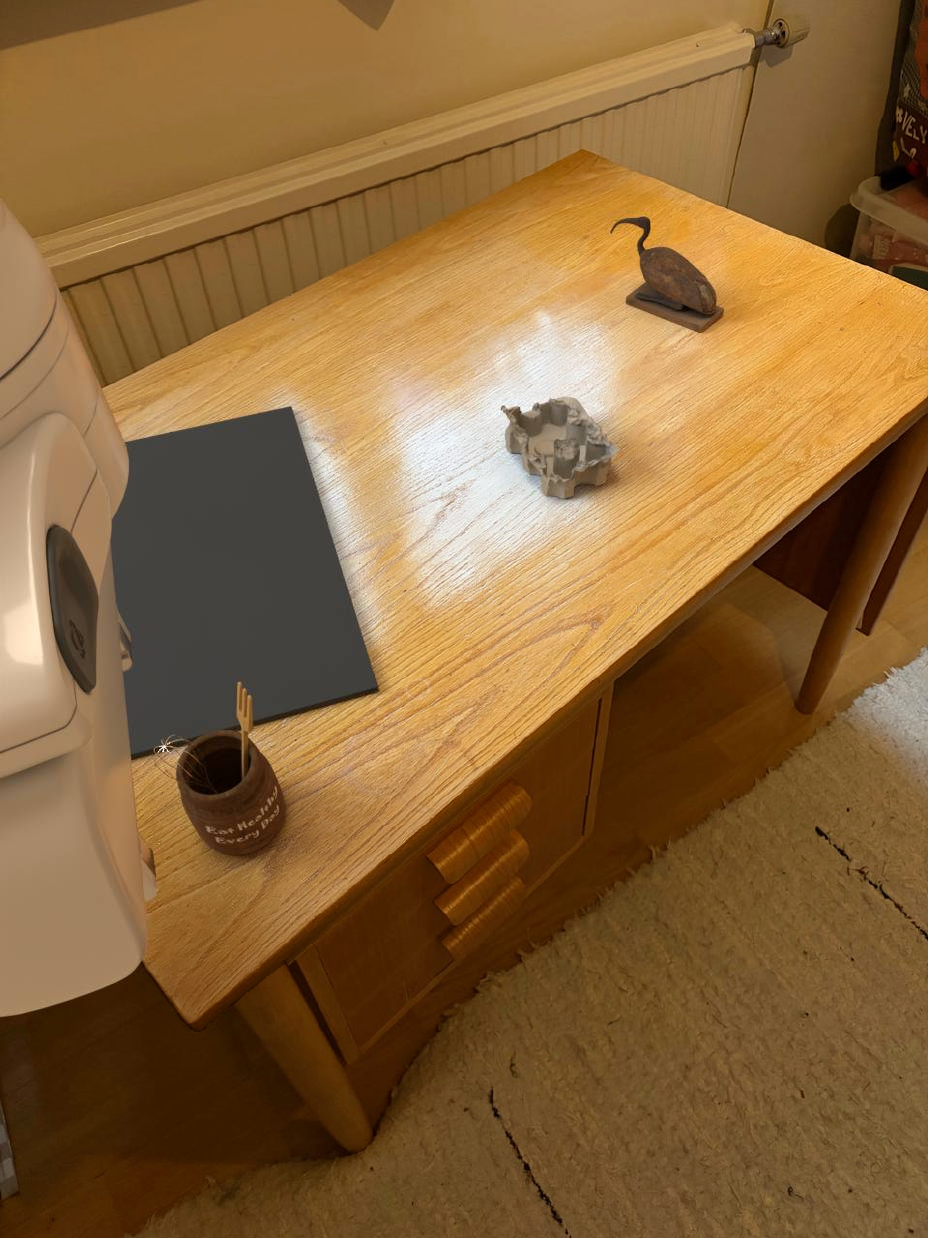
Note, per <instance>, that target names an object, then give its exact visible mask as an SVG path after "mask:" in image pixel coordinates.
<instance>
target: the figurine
mask: <svg viewBox="0 0 928 1238" xmlns="http://www.w3.org/2000/svg"><path fill="white" fill-rule="evenodd" d="M621 224H629V225H634V226H636V227H638V228H640V229H642V231H643V232H642V235H641V236H640V237H639V239H638V241H637V243H636V248H637V249H636V250H637V253H638V256H639V269H640V271H641V274H642V278H643V280H644V282H643V283H642V284H641V285H640V286H638V287H637V288H636V289H634V290H633V291H632V292H630V293H629V294H628V295H627V296H626V297H625V304H626V305H629V306H632V307H633V308H636V309H640V310H642V311H644V312H647V313H649V314H651V315H654V316H656V317H659V318H662V319H664V320H667V321H670V322H671V323H674V324H677V325H679V326H681V327H685V328H686V329H689V330H691V331H695V332H697V333H702V332H704V331H705V330H706V329H707V328H709V327H710V326H712V324H714V323H715V322H716V321H717V320H719V319H720V318H721V317H723V315H724V313H725V309H724V308H723V307H721V306H718V305H717V302H718V301H717V299H718V298H717V293H716V290H715V288H714V286H713V285H712V283H711V282H710V281H709V280H708V279H707V277H706V276H705V274H704V273H703V272H701V271H700V270H699V269H698V268H697V266H696V265H694V264H693V263H692V262H691V261H690V260H689V259H688V258H686V257H685V256H684V255H682V254H681V253H679V252H678V251H676V250H674V249H673V248H670V247H667V246H654V247H651V248H645V247H644V243H645V242H646V240H647V239H648V237H649V236H650V233H651V228H652V227H651V219H650V217H647V216H643V215H642V216H638V217H626V218H622V219H619V220H618V221H616V222H615V223H614V224H613V226H612V228H611V230H610V234H613V232H614V230H615V229H616V227H618V226H619V225H621Z"/></svg>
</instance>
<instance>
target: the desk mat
mask: <svg viewBox="0 0 928 1238" xmlns="http://www.w3.org/2000/svg"><path fill="white" fill-rule="evenodd" d="M124 442H125V445H126V447H127V452H128V458H129V475H128V482H127V486H126V490H125V493H124V496H123V499H122V501H121V504H120V506H119V508H118V510H117V512H116V514H115V515H114V517H113V519H112V529H111V539H110V544H111V554H112V565H113V575H114V585H115V596H116V604H117V608H118V612H119V614H120V616H121V618H122V620H123V621H124V623H125V625H126V627H127V629H128V631H129V633H130V635H131V647H132V659H133V664H132V667H131V668H130V669H129V670H127V671H124V672H123V679H124V690H125V700H126V711H127V721H128V732H129V742H130V752H131V760H133V759H137V758H141V757H145V756H148V755H153V754H155V752H156V753H158V751H159V750H160V749H161V748H163V747H157V746H164V745H165V743H166V742H165V741H167V739H168V738H169V737H170V736H171V735H174V736H171V737H170V738H169V739H168V741H167V743H170V742H172V741H174V742H172V743H170V745H171V746H172V747H176V748H179V747H181V746H184V745H188V744H189V745H190V744H191V743H192V742H193V741H194V740H196V739H197V738H199V737H201V736H202V735H205V734H207V733H210V732H213V731H218V730H232V731H236V732H237V731H239V730H242V728H241V725H240V723H239V720H238V718H237V686H238V682H241V684H242V692H243V689H244V688H245V689H246V691H247V699H248V696H249V695H250V696H251V697H252V715H253V727H254V726H257V725H260V724H264V723H268V722H272V721H275V720H279V719H283V718H287V717H289V716H290V717H291V716H294V715H297V714H301V713H304V712H307V711H312V710H316V709H319V708H322V707H326V706H330V705H333V704H337V703H341V702H344V701H347V700H351V699H355V698H359V697H362V696H367V695H369V694H373V693H376V692H379V690H380V689H379V685H378V681H377V679H376V676H375V671H374V669H373V666H372V663H371V660H370V656H369V652H368V650H367V649H368V648H367V646H366V643H365V640H364V637H363V634H362V629H361V627H360V624H359V620H358V617H357V613H356V611H355V608H354V605H353V601H352V598H351V594H350V590H349V588H348V585H347V582H346V579H345V575H344V572H343V569H342V566H341V562H340V559H339V556H338V552H337V549H336V546H335V542H334V539H333V536H332V533H331V530H330V527H329V523H328V520H327V516H326V514H325V510H324V508H323V504H322V501H321V498H320V494H319V491H318V488H317V484H316V482H315V478H314V475H313V472H312V469H311V464H310V462H309V459H308V456H307V452H306V449H305V445H304V442H303V440H302V436H301V432H300V430H299V426H298V422H297V420H296V417H295V414H294V410H293V407H292V405H289V406H284V407H279V408H275V409H270V410H266V411H262V412H257V413H252V414H248V415H242V416H239V417H238V416H237V417H233V418H229V419H225V420H219V421H215V422H211V423H207V424H206V423H205V424H203V425H202V424H201V425H197V426H193V427H188V428H183V429H178V430H175V431H174V430H173V431H169V432H165V433H160V434H156V435H155V434H154V435H151V436H146V437H142V438H138V439H132V440H128V441H124ZM176 735H178V736H180V737H181V738H182V739H184V740H188V741H190V742H191V743H190V742H188V741H186V742H187V743H188V744H187V743H186V742H185V741H183V740H179V739H181V738H180V737H178V736H176ZM161 739H164V740H165V741H164V740H162V742H163V744H164V745H163V744H162V742H161ZM175 740H178V741H175ZM167 743H166V746H169V745H167ZM155 747H157V748H155ZM164 747H165V746H164ZM172 747H166V748H167V750H170V749H173V748H172ZM154 748H155V752H154ZM166 748H163V749H164V751H167V750H166ZM163 749H161V750H160V751H159V753H160V752H163Z"/></svg>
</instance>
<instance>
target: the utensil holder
mask: <svg viewBox="0 0 928 1238" xmlns="http://www.w3.org/2000/svg"><path fill="white" fill-rule="evenodd" d="M237 718H238V720H239V723H240V725H241V728H242V729H241V732H240V731H237V730H236V731H232V730H218V731H213V732H210V733H207V734H205V735H202V736H201V737H199V738H197V739H196V740H194V741H193V742H192V743H191V742H190V741H188V740H184V739H182V738H181V737H180V736H178V735H176V736H178V737H180V738H181V739H179V740H183V741H185V742H186V741H188V742H190V743H189V744H188V743H187V742H186V743H187V744H186V745H187V746H186V748H185V749H182V748H179V747H172V746H171V745H170V743H172V742H174V741H172V742H170V743H167V741H168V739H169V738H170V737H171V736H174V735H171V736H170V737H169V738H168V739H167V741H165V740H164V739H161V742H162V740H164V741H165V742H166V743H167V745H169V746H166V743H165V745H164V744H163V742H162V744H163V745H164V746H165V747H164V746H157V747H163V748H166V747H172V748H171V749H173V750H174V751H175V752H176V753H177V754H178V755H179V759H178V760H176V759H175V758H174V757H173V755H172V754H171V752H170V751H169V749H167V748H166V750H164V749H163V748H161V749H163V751H162V754H161V755H162V756H160V755H159V753H160V752H161V751H160V750H161V749H160V750H159V751H160V752H159V751H158V752H155V748H157V747H155V748H154V752H155V753H154V754H155V756H154V760H157V759H156V758H157V757H158V758H159V759H161V760H162V765H163V769H164V770H165V771H166V773H165V772H164V771H163V770H162V769H161V768H160V767H159V766H158V764H157V763H156V761H154V765H155V767H156V768H157V769H158V770H159V771H161V773H163V774H164V775H165V776H167V777H168V778H170V779H173V780H175V781H176V783H177V787H178V790H179V793H180V799H181V804H182V807H183V809H184V812H185V814H186V816H187V817H188V819H189V821H190V822H191V825H192V826H193V828H194V829H195V831H196V832H197V834H198V835H199V837H200V838H201V839H202V841H203V842H204V843H205V844H206V845H207V846H209V847H210V848H211V849H212V850H214V851H216V852H218V853H221V854H224V855H230V856H241V855H246V854H251V853H253V852H256V851H258V850H260V849H261V848H262V847H264V846H265V845H267V844H268V843H269V842H271V840H272V839H273V838H274V837H275V836H276V835H277V834H278V832H279V830H280V828H281V826H282V825H283V822H284V819H285V813H286V802H285V797H284V793H283V790H282V787H281V785H280V783H279V780H278V777H277V776H276V773H275V770H274V769H273V766H272V764H271V762H270V761H269V759H267V757H266V756H265V755H264V754H263V752H261V750H260V749H259V747H258V746H257V745H256V743H254V741H253V740H252V739H250V737H249V733H251V732H253V730H254V726H253V715H252V697H251V696H250V695H249V696H248V699H247V691H246V689H245V688H244V689H243V692H242V684H241V682H238V686H237ZM175 741H178V740H175ZM177 750H179V751H182V753H181V754H180V752H178V751H177ZM165 751H167V753H168V754H169V755H170V756H171V758H172V759H173V760H174V762H175V763H176V767H175V766H173V765H171V764H170V763H168V762H167V761H165V760H164V754H165V753H164V752H165ZM165 763H166V764H167V765H168V766H169V767H171V768H173V769H174V770H175V777H174V776H173V775H172V774H171V773H170V772H169V771H168V770H167V768H166V765H165Z"/></svg>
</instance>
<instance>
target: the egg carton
mask: <svg viewBox="0 0 928 1238" xmlns="http://www.w3.org/2000/svg"><path fill="white" fill-rule="evenodd" d="M500 411H502V414H505V415H506V419H507V420H509V423H508V425H507V427H506V429H505V432H504V440H505V447H506V450H507V452H509V453H510V454H521V460H522V462H521V465H522V470H525V472H527V474H528V475H537V476H538V475H539V476H541V480H540V482H541V483H540V491H541V492H542V494H543V495H544V496H545V497H552V496H553V497H558V498H561V499H567V498H571V497H574V496H575V494H574V493H575V487H576V486H577V485H582V484H586V485H587V484H589V485H594V486H595V487H598V486H601V485H604V484H606V483H607V477H608V474H610V472H611V467H612V458H613V456H615V454H617V453H618V452H619V451H620V450H621V448H620V447H619V446H618V445H616V444H615V443H614V442H613V441H610V440H609V438H608V435H607V434H605V433H604V431H603V428H602V426H601V425H599V424H598V423H597V422H596V421H595V420H594V418H592V416H590V415H589V414H588V413H587V411H586V409H585V408H584V406H583V405H582V404H581V402H580V401H579V400H578V399H577V398H575V397H573V396H561V397H558V398H549V399H548V400H547V401H546V402H544V403H539V402H535V403H534V404H533V405H532V408H531V410H528V411H525V412H523V411H522V410H521V407H520V406H512V407H509V408H508V407H506V405H502V406H501V407H500Z"/></svg>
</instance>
